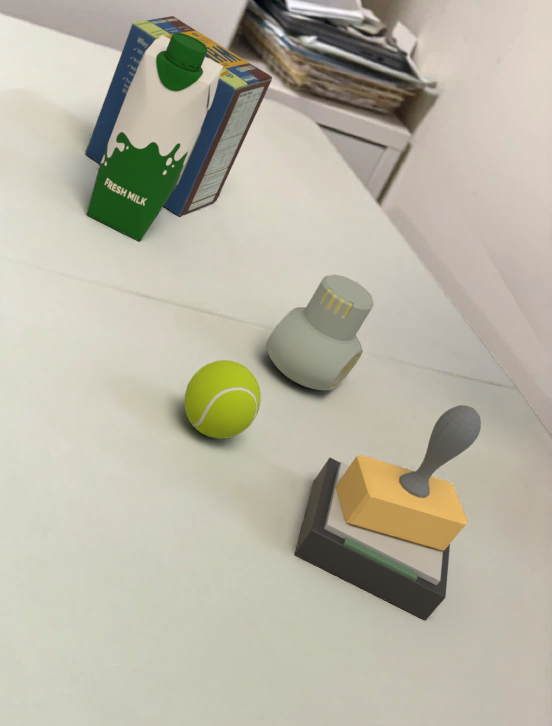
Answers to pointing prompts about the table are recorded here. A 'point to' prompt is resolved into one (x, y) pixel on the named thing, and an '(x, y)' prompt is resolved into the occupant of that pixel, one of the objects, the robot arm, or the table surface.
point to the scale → (369, 552)
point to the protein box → (220, 127)
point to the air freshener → (322, 334)
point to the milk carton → (154, 133)
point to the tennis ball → (222, 399)
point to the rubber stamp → (412, 488)
